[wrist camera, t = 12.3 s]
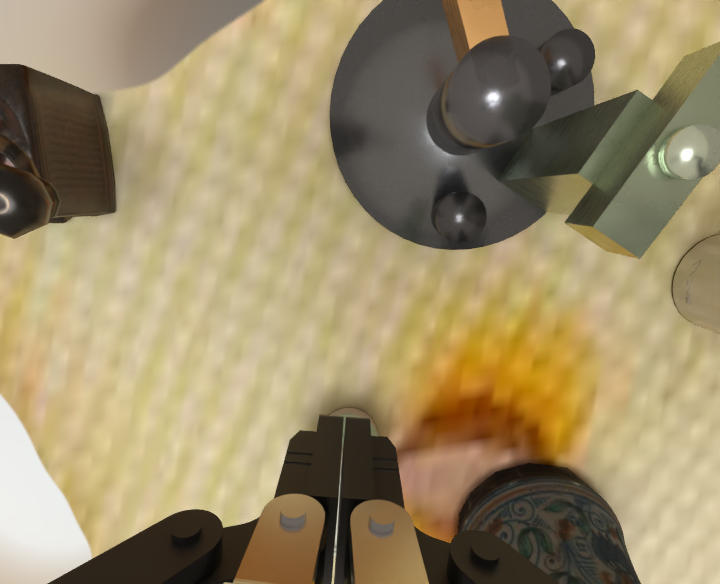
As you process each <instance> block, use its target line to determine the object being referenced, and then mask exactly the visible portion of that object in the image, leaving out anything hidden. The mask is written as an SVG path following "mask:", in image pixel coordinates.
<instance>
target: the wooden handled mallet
mask: <svg viewBox="0 0 720 584" xmlns="http://www.w3.org/2000/svg"><path fill="white" fill-rule="evenodd" d="M442 4H443V8H444V12H445V15H446V19H447V23H448V27H449V30H450V34H451V38H452V42H453V46H454V49H455V53H456V57H457V61H458V65H457V66H456V67H455V69H454V70H453V71H452V73H451V74H450V75H449V76H448V78H447V79H446V80H445V82H444V83H443V84H442V85H441V87H440V88H439V89H438V91H437V92H436V93H435V94H434V96H433V97H432V99H431V101H430V103H429V106H428V109H427V115H426V123H427V129H428V132H429V135H430V137H431V139H432V140H433V142H434V143H435V144H436V145H437V147H439V148H440V149H441V150H443V151H444V152H446V153H449V154H452V155H457V156H464V155H469V154H473V153H476V152H479V151H482V150H485V149H488V148H490V147H493V146H496V145H499V144H502V143H505V142H508V141H511V140H514V139H516V138H519V137H521V136H522V135H524V134H526V133H527V132H528V131H530V130H531V129H532V128H533V127H534V126H535V125H536V124H537V122H538V121H539V120H540V119H541V117H542V115H543V114H544V112H545V110H546V107H547V105H548V102H549V98H550V92H551V78H550V72H549V69H548V66H547V63H546V61H545V59H544V58H543V56H542V54H541V53H540V52H539V51H538V49H537V48H535V47H534V46H533V45H532V44H531V43H529V42H528V41H526V40H524V39H522V38H519V37H515V36H509V33H508V28H507V24H506V20H505V16H504V12H503V7H502V3H501V0H442Z"/></svg>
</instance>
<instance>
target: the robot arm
mask: <svg viewBox="0 0 720 584" xmlns="http://www.w3.org/2000/svg"><path fill="white" fill-rule="evenodd" d="M672 288H673V298H674V301H675V304H676V307H677V308H678V310H679V312H680V313H681V314H682V315H683V316H684V317H685V318H686V319H687V320H688V321H690V322H692V323H694V324H695V325H698V326H701V327H703V328H706V329H708V330H711V331H713V332H716V333H718V334H720V234H718V235H715V236H712V237H709V238H707V239H705V240H703V241H702V242H700V243H698V244H697V245H696V246H695V247H693V248H692V249H691V250H690V251H689V252H688V253H687V254H686V255H685V257H684V258H683V259H682V261H681V263H680V264H679V266H678V268H677V270H676V273H675V276H674V281H673V287H672ZM343 422H344V416H331V415H320V416H319V421H318V427H317V432H313V431H299V432H298V433H297V434H296V435H295V436H294V437H293V438H292V439H291V440H290V442H289V446H288V449H287V454H286V457H285V460H284V464H283V467H282V471H281V475H280V478H279V482H278V486H277V489H276V493H275V497H274V499H273V500H271V501H270V502H269V503H268V504H267V505H266V506H265V507H264V509H263V511H262V513H261V515H260V517H259V518H257V519H255V520H253V521H251V522H248V523H245V524H241V525H236V526H231V527H225V528H223V526H222V522H221V521H220V519H219V518H218V517H217V516H216V515H215V514H213V513H211V512H209V511H205V510H198V509H194V510H185V511H181V512H178V513H175V514H173V515H171V516H169V517H167V518H165V519H163V520H162V521H160V522H158V523H156V524H154V525H153V526H151V527H149V528H147V529H145V530H144V531H142V532H140V533H138V534H136V535H135V536H133V537H131V538H129V539H127V540H126V541H124V542H122V543H120V544H118V545H117V546H115V547H113V548H111V549H109V550H108V551H106V552H104V553H102V554H100V555H98V556H97V557H95V558H93V559H91V560H89V561H88V562H86V563H84V564H82V565H80V566H79V567H77V568H75V569H73V570H71V571H70V572H68V573H66V574H64V575H63V576H61V577H59V578H57V579H55V580H53V581H52V582H50V583H48V584H331V581H332V570H333V558H334V547H335V535H336V524H337V512H338V501H339V512H338V529H337V545H336V562H335V578H334V584H560V583H558V582H557V581H556V580H554V579H553V578H552V577H551V576H549V575H548V574H547V573H545V572H544V571H543V570H541V569H540V568H539V567H537V566H536V565H535V564H533V563H532V562H531V561H529V560H528V559H527V558H526V557H524V556H523V555H522V554H520V553H519V552H518V551H516V550H515V549H514V548H512V547H511V546H510V545H508V544H507V543H506V542H504V541H503V540H502V539H500V538H499V537H497V536H495V535H493V534H490V533H488V532H484V531H479V530H466V531H463V532H460V533H458V534H457V535H456V536H455V537H454V538H453V539H452V541H451V543H448V542H445V541H442V540H439V539H436V538H433V537H430V536H428V535H426V534H424V533H423V532H421V531H420V530H418V529H417V528H416V527H415V526H414V525H413V521H412V519H411V517H410V515H409V514H408V513H407V511H406V510H405V508H404V501H403V494H402V487H401V481H400V474H399V467H398V462H397V454H396V448H395V446H394V445H393V444H392V443H391V441H390V440H389V439H388V438H387V437H381V436H371V424H370V418H359V417H346V421H345V432H344V444H343V455H342V467H341V454H342V438H343ZM340 470H341V480H340ZM339 486H340V496H339Z"/></svg>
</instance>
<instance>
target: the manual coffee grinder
mask: <svg viewBox="0 0 720 584" xmlns="http://www.w3.org/2000/svg"><path fill="white" fill-rule="evenodd" d="M114 212H115V182H114V174H113V165H112V157H111V150H110V142H109V135H108V128H107V125H106V121H105V117H104V114H103V110H102V106H101V102H100V99H99V96H98V95H94V94H92V93H90V92H87V91H85V90H83V89H81V88H79V87H76V86H74V85H71V84H69V83H67V82H64V81H62V80H60V79H57V78H55V77H52V76H50V75H47V74H45V73H42V72H39V71H37V70H34V69H32V68H29V67H27V66H24V65H20V64H0V234H2V235H5V236H8V237H10V238H13V239H15V238H17V237H19V236H21V235H24V234H26V233H28V232H30V231H33V230H35V229H37V228H39V227H42V226H44V225H47V224H48V223H65V222H67V220H68V219H69V218H72V217H77V216H99V215H104V214H109V213H114Z"/></svg>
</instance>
